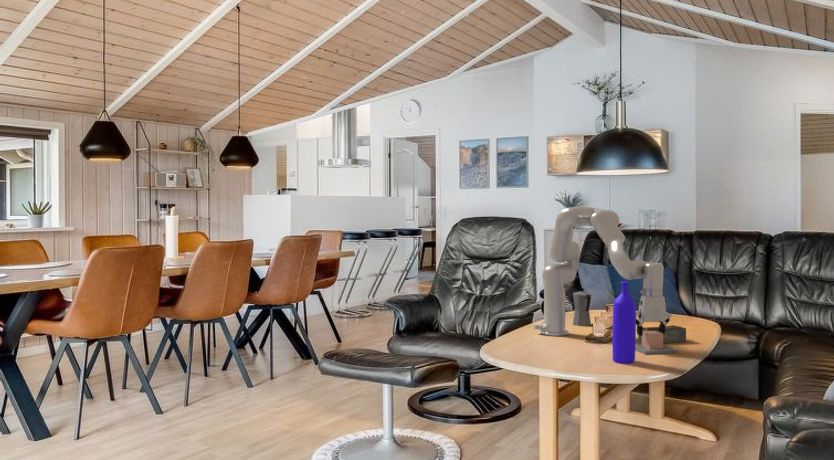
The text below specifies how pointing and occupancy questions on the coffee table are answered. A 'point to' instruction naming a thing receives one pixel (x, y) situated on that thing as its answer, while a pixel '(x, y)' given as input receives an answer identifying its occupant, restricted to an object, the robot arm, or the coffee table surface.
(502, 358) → the coffee table surface
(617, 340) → the bottle
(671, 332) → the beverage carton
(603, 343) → the coffee table surface
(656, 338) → the cube
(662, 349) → the coaster
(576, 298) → the coffeepot
